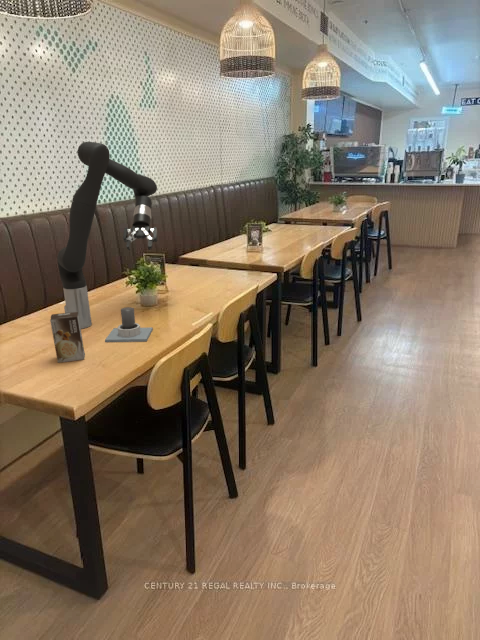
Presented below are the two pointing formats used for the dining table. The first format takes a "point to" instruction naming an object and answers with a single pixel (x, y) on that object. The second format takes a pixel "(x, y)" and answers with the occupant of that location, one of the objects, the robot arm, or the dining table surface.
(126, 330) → the grey ring socket base
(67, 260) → the robot arm
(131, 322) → the dark grey cylinder
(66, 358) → the coffee box
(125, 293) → the dining table surface
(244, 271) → the dining table surface
